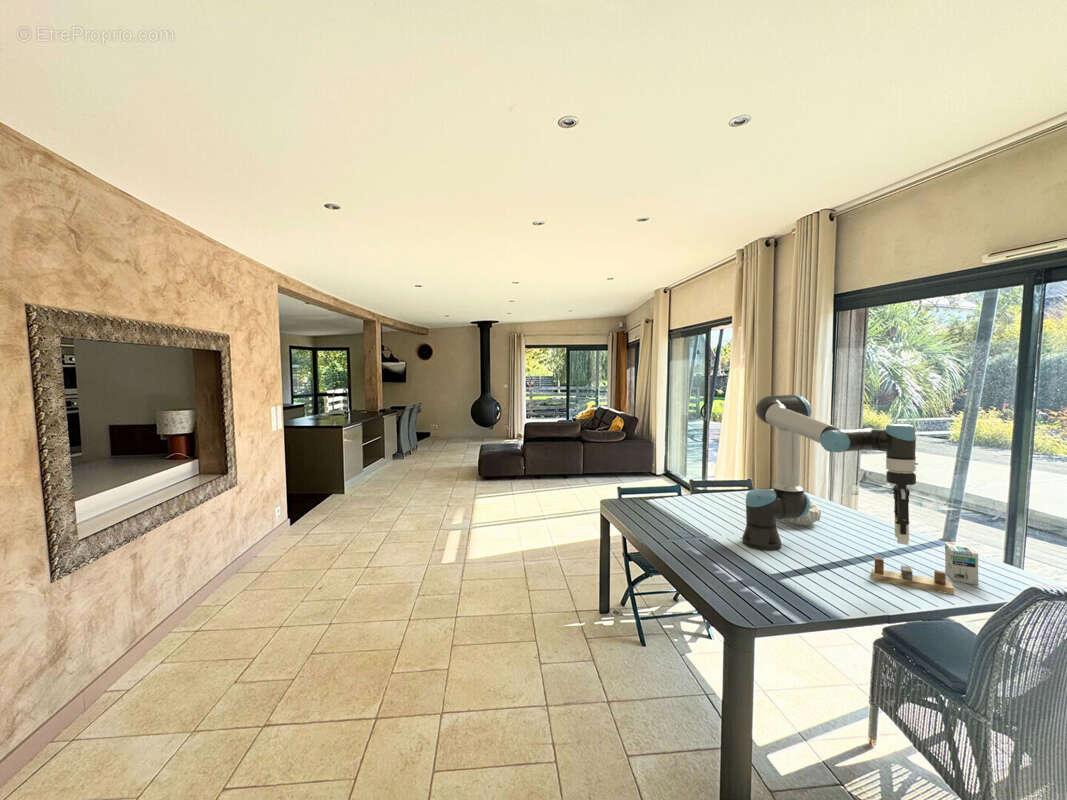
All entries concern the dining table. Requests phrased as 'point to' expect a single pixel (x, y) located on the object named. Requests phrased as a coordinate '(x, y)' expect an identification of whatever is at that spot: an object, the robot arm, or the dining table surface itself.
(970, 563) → the light bulb box
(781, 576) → the dining table surface
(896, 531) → the lever cap
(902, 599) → the dining table surface
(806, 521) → the bowl
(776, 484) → the robot arm
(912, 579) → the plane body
